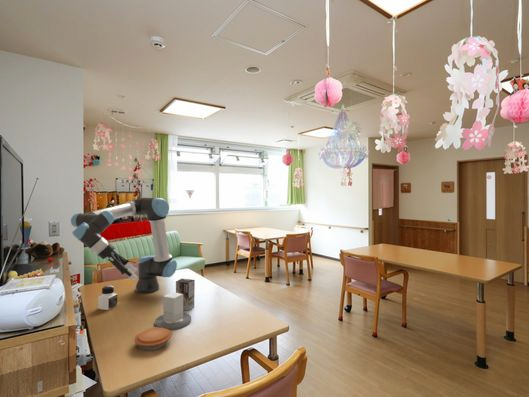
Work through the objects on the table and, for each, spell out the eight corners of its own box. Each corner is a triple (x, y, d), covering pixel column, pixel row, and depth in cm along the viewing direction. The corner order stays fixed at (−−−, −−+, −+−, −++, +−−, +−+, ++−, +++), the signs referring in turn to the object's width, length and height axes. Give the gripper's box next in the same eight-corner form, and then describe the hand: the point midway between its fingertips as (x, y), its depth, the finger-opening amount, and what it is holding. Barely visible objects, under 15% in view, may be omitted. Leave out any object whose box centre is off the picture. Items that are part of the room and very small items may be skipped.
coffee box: (194, 306, 168) (195, 279, 168) (188, 311, 162) (188, 282, 162) (181, 304, 171) (182, 278, 171) (175, 308, 165) (175, 281, 165)
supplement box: (183, 317, 151) (183, 293, 150) (173, 323, 144) (174, 298, 144) (172, 314, 154) (173, 291, 154) (162, 320, 147) (162, 295, 147)
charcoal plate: (167, 312, 159) (167, 310, 159) (197, 316, 156) (197, 314, 155) (147, 327, 142) (147, 324, 142) (180, 331, 138) (180, 329, 138)
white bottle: (108, 310, 161) (108, 289, 161) (97, 309, 163) (97, 288, 162) (117, 305, 168) (117, 285, 168) (107, 304, 170) (107, 284, 169)
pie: (128, 354, 118) (128, 342, 118) (142, 335, 134) (142, 325, 134) (165, 353, 119) (166, 341, 119) (175, 335, 135) (175, 324, 135)
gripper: (99, 249, 152) (130, 274, 159) (93, 260, 129) (130, 288, 136) (110, 238, 154) (140, 264, 161) (107, 247, 132) (142, 276, 138)
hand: (135, 275), depth 149 cm, fingers open, 13 cm apart
